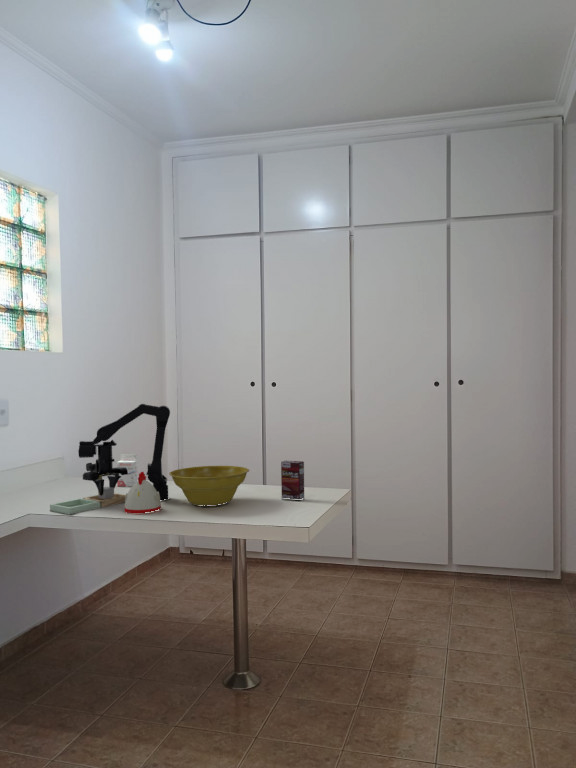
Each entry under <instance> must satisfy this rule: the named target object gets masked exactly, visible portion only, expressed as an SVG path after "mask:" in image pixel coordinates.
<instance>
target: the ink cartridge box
mask: <svg viewBox="0 0 576 768" xmlns="http://www.w3.org/2000/svg"><path fill="white" fill-rule="evenodd" d="M137 456H138V455H137V454H134V453H132V454H130V453H129V454H127V453H124V454H123V453H122V454H120V458H119V459H120V460H118V461H116V467H124V468H127V470H128V474H127V475H121V474H120V473H119V476H121V478H119V480H118V482H117V484H116V486H117V487H128V486H133V485H134V484H135V483H136V482H137V481H138V459H137V458H138V457H137Z"/></svg>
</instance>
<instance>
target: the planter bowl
mask: <svg viewBox="0 0 576 768" xmlns="http://www.w3.org/2000/svg"><path fill="white" fill-rule="evenodd" d="M248 472H250V469H249V468H247V467H244V466H238V465H236V466H235V465H201V466H192V467H190V466H189V467H185V468H184V467H183V468H177V469H175V470H172V471H170V472H169V473H168V475H169V477H171V479H172V481H173V482H174V485H176V486H177V487H179V488H180V489H181V490H182V493H183V495H184V496H185V498H186V499H187V501H188V502H189V503H190V504H192V505H193V504H195V505H203V506H204V505H205V506H207V505H218V504H223V503H226V502H228V503H230V502H231V501H232V500H233V498H234V496H235V494H236V492H237V490H238V487H239V486H240V485H241V484H242V483H244V481H246V480H245V479H246V476H247V473H248ZM195 505H194V506H195Z"/></svg>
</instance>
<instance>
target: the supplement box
mask: <svg viewBox="0 0 576 768" xmlns="http://www.w3.org/2000/svg"><path fill="white" fill-rule="evenodd" d="M280 467H281V468H280V470H281V472H280V473H281V475H280V476H281V477H280V478H281V479H280V480H281V483H280V484H281V499H282V498H290V499H302V498H304V499H305V461H301V460H300V461H298V460H284V461H280Z"/></svg>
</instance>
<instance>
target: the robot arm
mask: <svg viewBox="0 0 576 768" xmlns="http://www.w3.org/2000/svg"><path fill="white" fill-rule="evenodd" d="M144 414H145V415H149V416H152V417H155V420H156V421H155V422H156V423H155V424H156V432H155V439H154V445H153V446H154V447H153V448H154V449H153V455H152V461H151V463H150V462H149V463H147V472H146V474H145V476H147V481H148V482H150V483H151V484H152V485H153V486H154V488H155V489H156V491H157V492H159V495H160V500H164V499H168V498H169V485H168V484H167V483H168V478H167V477H166V476H165V475H164V474H163V464H162V463H163V462H162V458H163V457H162V456H163V451H164V450H163V449H164V443H165V435H166V427H167V426H168V421H169V418H170V415H171V409H170V408H169V407H168V406H166V405H159V406H156V405H150V404H146V403H141V404H139V405H138V406H136V407H135V408H134V409H132V410H130V411H129V412H127V413H126V414H124V415H123V416H122V417H120V418H118V419H117V420H115V421H112V422H110V423H108V424H105V425H103V426H101V427H100V428H98V429H97V431H96V437H95V438H94V439H93V440H89V441H88V440H79V443H78V444H79V445H78V450H77V452H78V458H79V459H85V458H94V457H95V455H97V459H95V463H92V462H88V463H86V464H85V470H86V472H84V473H83V474H82V480H84V481H89V482H90V481H92V482H93V483H94V484H95V486H96V488H97V492H98V491H99V493H100V495H101V496H102V495H103V489H104V487H105V479H103V477H107V479H108V482H109V485H108V487H113V488H114V489H115V487H116V486H117V482H118V480H119V478H121V476H119V473H120V474H121V475H127V474H128V470H127V468H124V467H117V466H116V467H114V465H113V463H114V462H115V458H113V447H115V446H117V445H118V444H117V442H116V441H114V439H111V440H110V438H112V437H113V436H114V435H115V434H116V433H117V432H118V431H119V430H120V429H121V428H123V427H125V426H127V425H128V424H129V423H131V422H133V421H134V420H135V419H137V418H139V417H140V416H142V415H144ZM109 440H110V441H109ZM101 442H102V444H101Z"/></svg>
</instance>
